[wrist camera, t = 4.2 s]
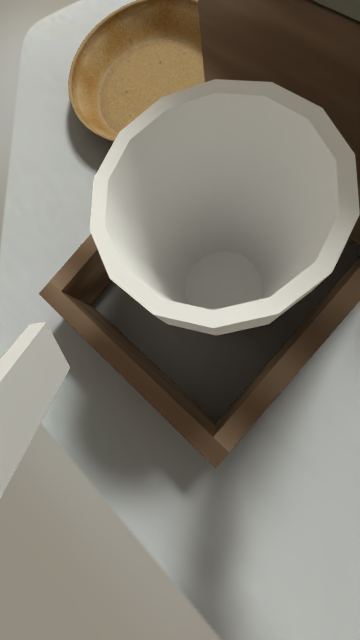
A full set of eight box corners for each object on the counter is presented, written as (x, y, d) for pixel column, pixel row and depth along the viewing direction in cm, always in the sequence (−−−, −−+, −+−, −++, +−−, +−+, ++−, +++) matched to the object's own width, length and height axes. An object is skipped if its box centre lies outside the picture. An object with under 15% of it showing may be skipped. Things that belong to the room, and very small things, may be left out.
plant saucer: (95, 185, 27) (81, 165, 24) (71, 61, 29) (56, 32, 27) (253, 131, 25) (256, 104, 22) (210, 4, 28) (209, -32, 25)
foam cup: (148, 265, 24) (58, 154, 12) (249, 214, 23) (272, 35, 11) (195, 369, 22) (148, 374, 10) (307, 317, 21) (420, 247, 9)
